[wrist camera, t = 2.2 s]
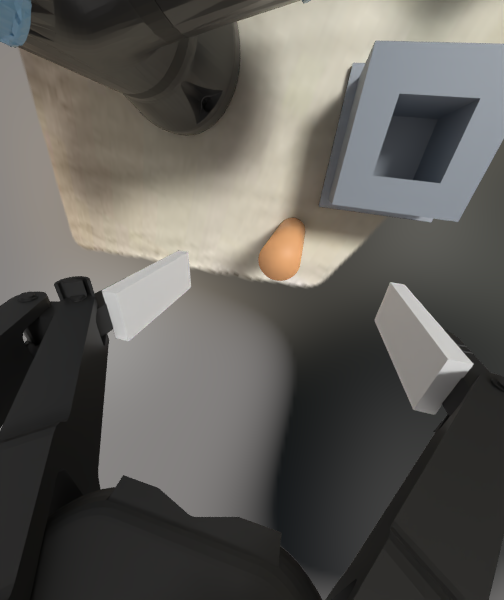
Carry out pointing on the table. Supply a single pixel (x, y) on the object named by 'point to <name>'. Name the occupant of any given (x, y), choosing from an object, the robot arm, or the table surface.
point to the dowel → (283, 250)
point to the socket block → (417, 129)
